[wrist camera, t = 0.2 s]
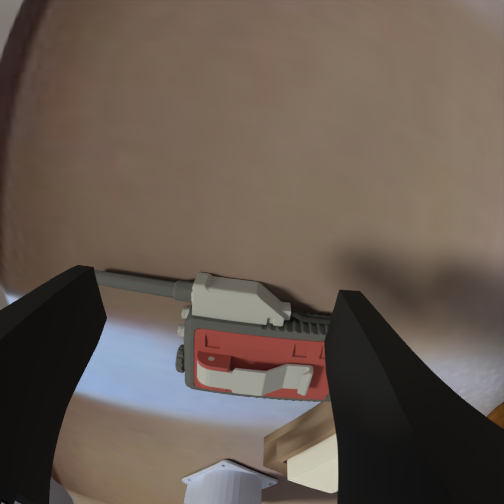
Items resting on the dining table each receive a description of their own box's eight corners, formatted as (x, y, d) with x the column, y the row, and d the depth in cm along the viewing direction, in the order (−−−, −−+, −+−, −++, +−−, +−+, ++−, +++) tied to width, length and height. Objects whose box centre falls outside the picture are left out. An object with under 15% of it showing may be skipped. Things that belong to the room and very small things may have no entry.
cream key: (328, 469, 24) (331, 493, 21) (287, 453, 23) (287, 480, 20) (377, 443, 23) (384, 467, 20) (339, 423, 21) (344, 452, 19)
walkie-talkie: (376, 288, 20) (95, 254, 20) (398, 323, 16) (62, 279, 16) (344, 381, 23) (108, 349, 23) (353, 420, 19) (86, 382, 19)
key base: (397, 487, 31) (401, 505, 28) (264, 437, 26) (263, 466, 23) (454, 453, 28) (461, 471, 25) (346, 384, 23) (354, 415, 20)
